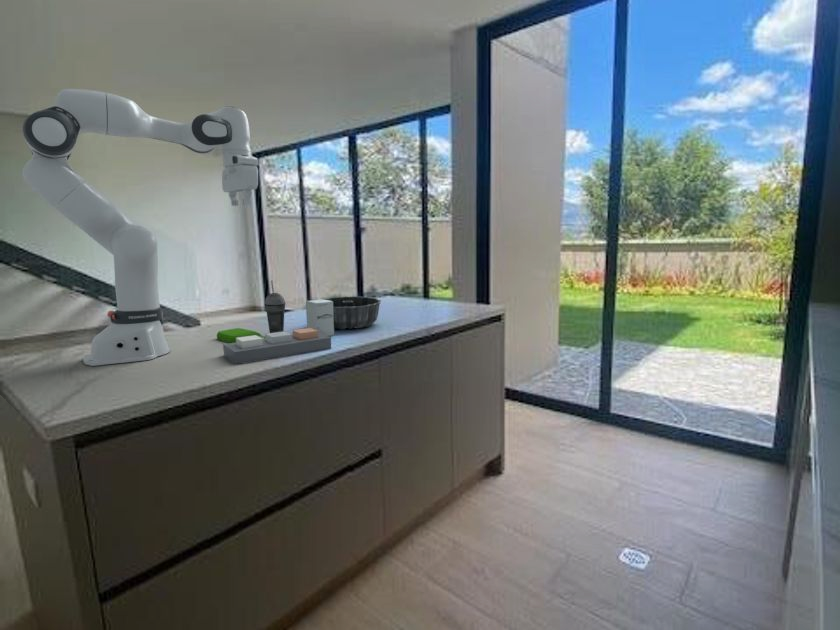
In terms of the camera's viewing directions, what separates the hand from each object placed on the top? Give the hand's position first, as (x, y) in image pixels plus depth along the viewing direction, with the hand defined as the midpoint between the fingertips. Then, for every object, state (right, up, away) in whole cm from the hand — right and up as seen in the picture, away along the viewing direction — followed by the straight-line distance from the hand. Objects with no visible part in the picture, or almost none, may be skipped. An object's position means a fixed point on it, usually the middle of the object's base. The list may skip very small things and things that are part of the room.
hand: (240, 205), depth 155 cm
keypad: (+15, -48, -7) cm, 50 cm away
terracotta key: (+22, -44, -2) cm, 49 cm away
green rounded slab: (0, -46, +8) cm, 46 cm away
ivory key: (+8, -46, -13) cm, 48 cm away
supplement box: (+23, -44, +17) cm, 52 cm away
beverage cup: (+7, -44, +16) cm, 47 cm away
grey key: (+15, -45, -8) cm, 48 cm away
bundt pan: (+30, -41, +35) cm, 61 cm away
